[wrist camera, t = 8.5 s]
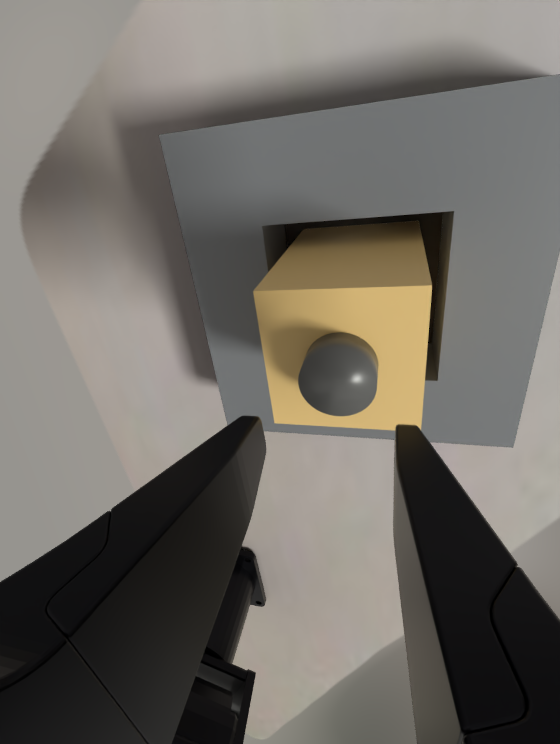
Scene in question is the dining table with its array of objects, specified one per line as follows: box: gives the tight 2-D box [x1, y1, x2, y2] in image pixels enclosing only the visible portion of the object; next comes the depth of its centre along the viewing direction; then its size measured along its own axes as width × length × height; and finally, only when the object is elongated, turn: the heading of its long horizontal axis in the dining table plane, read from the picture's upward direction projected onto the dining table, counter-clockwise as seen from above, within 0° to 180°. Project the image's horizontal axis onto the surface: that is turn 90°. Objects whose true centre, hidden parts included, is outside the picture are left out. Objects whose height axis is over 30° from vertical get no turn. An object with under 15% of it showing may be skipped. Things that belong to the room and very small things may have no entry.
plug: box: [253, 221, 432, 430], centre depth 13 cm, size 4×4×8 cm
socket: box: [159, 74, 560, 448], centre depth 15 cm, size 12×12×3 cm
